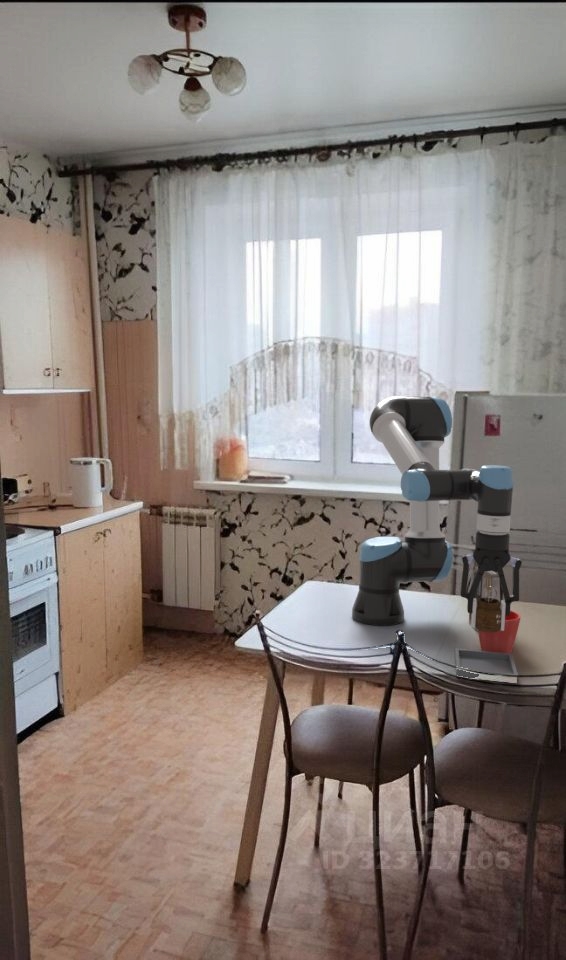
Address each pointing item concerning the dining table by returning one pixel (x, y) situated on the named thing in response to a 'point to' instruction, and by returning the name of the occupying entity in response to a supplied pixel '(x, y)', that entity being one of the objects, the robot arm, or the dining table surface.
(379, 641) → the dining table surface
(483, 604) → the utensil holder
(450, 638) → the dining table surface
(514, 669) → the tray
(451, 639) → the dining table surface
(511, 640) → the flower pot
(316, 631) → the dining table surface
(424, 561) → the robot arm
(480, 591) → the coffee box
